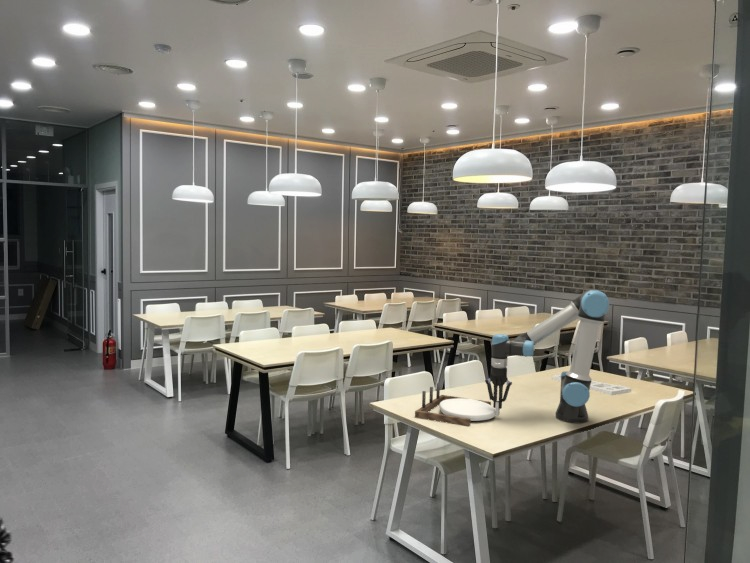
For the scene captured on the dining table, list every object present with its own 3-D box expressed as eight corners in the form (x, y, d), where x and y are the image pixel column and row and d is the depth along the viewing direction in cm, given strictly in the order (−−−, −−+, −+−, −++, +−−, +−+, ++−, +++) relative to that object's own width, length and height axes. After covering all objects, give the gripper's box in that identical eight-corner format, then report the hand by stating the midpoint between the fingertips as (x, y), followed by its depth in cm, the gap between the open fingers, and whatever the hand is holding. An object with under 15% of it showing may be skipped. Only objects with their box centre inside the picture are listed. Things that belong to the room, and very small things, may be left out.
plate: (507, 410, 278) (461, 416, 266) (505, 423, 279) (460, 430, 267) (472, 390, 303) (429, 395, 291) (471, 402, 304) (428, 408, 292)
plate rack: (490, 407, 300) (491, 386, 299) (468, 426, 267) (469, 402, 266) (441, 400, 312) (442, 380, 312) (414, 417, 279) (415, 394, 279)
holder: (551, 380, 371) (551, 375, 371) (570, 377, 380) (570, 373, 380) (611, 396, 332) (611, 391, 332) (631, 392, 342) (631, 388, 341)
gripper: (483, 366, 278) (481, 414, 279) (510, 369, 272) (508, 418, 273) (488, 363, 285) (486, 411, 286) (514, 366, 279) (512, 415, 280)
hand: (497, 414), depth 280 cm, fingers closed
